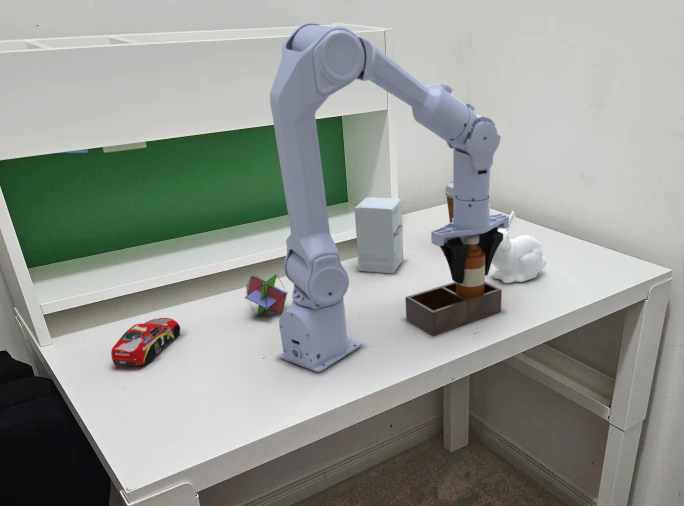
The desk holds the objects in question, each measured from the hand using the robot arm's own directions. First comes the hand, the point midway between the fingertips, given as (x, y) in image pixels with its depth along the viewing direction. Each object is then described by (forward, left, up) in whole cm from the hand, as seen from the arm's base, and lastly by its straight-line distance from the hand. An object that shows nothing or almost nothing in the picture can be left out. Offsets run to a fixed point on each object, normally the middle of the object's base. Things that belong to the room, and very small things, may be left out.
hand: (470, 277), depth 109 cm
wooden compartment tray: (-3, +1, -6) cm, 7 cm away
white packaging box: (+8, +25, -6) cm, 27 cm away
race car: (-38, +34, -6) cm, 52 cm away
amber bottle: (0, 0, -3) cm, 3 cm away
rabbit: (+17, +1, -6) cm, 18 cm away
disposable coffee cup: (+30, +19, -6) cm, 36 cm away
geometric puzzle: (-19, +28, -6) cm, 35 cm away
